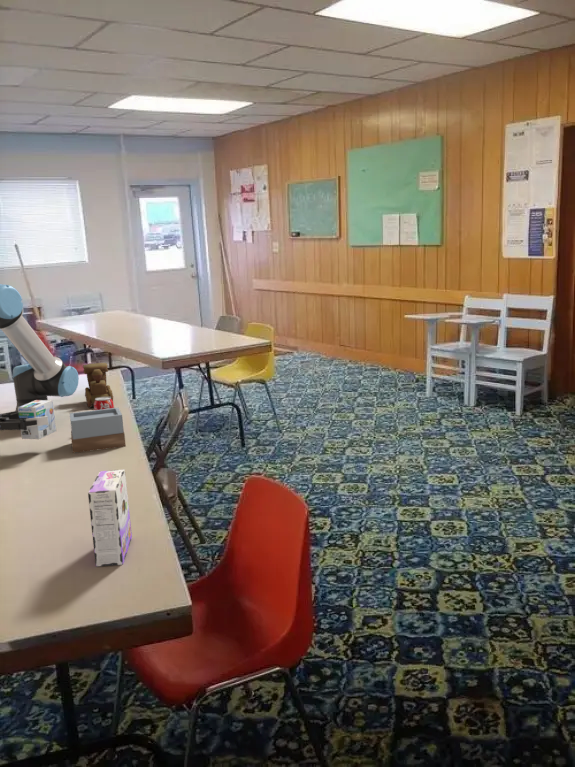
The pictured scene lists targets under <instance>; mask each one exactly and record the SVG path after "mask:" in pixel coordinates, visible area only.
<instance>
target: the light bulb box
mask: <svg viewBox="0 0 575 767" xmlns="http://www.w3.org/2000/svg"><path fill="white" fill-rule="evenodd" d="M54 410H55V408H54V400H52V399H51V400H35V401H33V402H30V403H28V404H25V405H23V406H20V407H18V413H19V420H26V419H27V418H36V417H44V416H48V425H42V426H34V427H27V430H24V429H23V430H20V436H21V439H22V440H41V439H42V438H45V437H47V436H49V435H50V434H53V433H55V432H57V428H56V418H55V411H54Z"/></svg>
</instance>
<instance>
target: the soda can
mask: <svg viewBox="0 0 575 767" xmlns="http://www.w3.org/2000/svg"><path fill="white" fill-rule="evenodd" d="M110 408H115V406H114V400H113V401H112V400H111V397H99V398H96V399H95V402H94V404H93V410H102V409H110Z"/></svg>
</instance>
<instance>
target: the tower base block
mask: <svg viewBox="0 0 575 767" xmlns="http://www.w3.org/2000/svg"><path fill="white" fill-rule="evenodd" d="M70 437H71V440H70V441H71V448H72V453H73V454H75V453H74V452H78V453H83V451H85V452H91V451H90V450H93V451H98V450H97V449H101V450H107V449H106V448H109V449H115V448H114V447H117V448H124V447H126V436H125V432H124V433H119V434H112V435H104V436H96V437H88V438H81V439H73V437H72V430H71V431H70ZM123 446H124V447H123Z"/></svg>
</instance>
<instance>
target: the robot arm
mask: <svg viewBox="0 0 575 767" xmlns="http://www.w3.org/2000/svg"><path fill="white" fill-rule="evenodd" d="M22 301H23V298H22V295H21V293H20V292H19V291H18V290H17V288H15V287H13V286H12V285H9V284H2V283H0V330H1V331H2V332H3V333H4V335H5V336H6V338H7V339H9V341H10V342H11V343H12V344H13V345H14V347H15V348H16V350H18V352H19V353H20V355H21V356H22V357H23V359H25V360H26V362H27V363H26V364H21V365H17V366H14V367H13V370H12V380H13V385H14V393H15V400H16V406H15V410H14V411H10V412H4V413H0V431H16V430H17V431H21V430H23V429H24V430H27V427H34V426H42V425H48V416H44V417H36V418H27V419H26V420H19V413H18V407H20V406H23V405H25V404H28V403H30V402H33V401H35V400H48V397H57V398H59V397H60V398H63V397H64V398H65V397H70V396H72V395H73V394H75V392H76V391H77V388H78V386H79V373H78V370H77V369H76V368H75V367H74V366H71V365H68V366H67V365H66V364H65V363H64V362H63V360H62V359H61V358H59V357H57V356H54V355H53V354H52V353H51V352H50V350H49V349H48V347H47V345H45V344H44V342H43V341H42V340H41V338H40V337H39V336H38V334H37V333H36V332H35V331H34V329H33V328H32V327H31V325H30V324H29V322H28V321H27V320H26V319H25V317H24V316H23V314H24V309H23V308H24V303H23V302H22Z"/></svg>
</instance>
